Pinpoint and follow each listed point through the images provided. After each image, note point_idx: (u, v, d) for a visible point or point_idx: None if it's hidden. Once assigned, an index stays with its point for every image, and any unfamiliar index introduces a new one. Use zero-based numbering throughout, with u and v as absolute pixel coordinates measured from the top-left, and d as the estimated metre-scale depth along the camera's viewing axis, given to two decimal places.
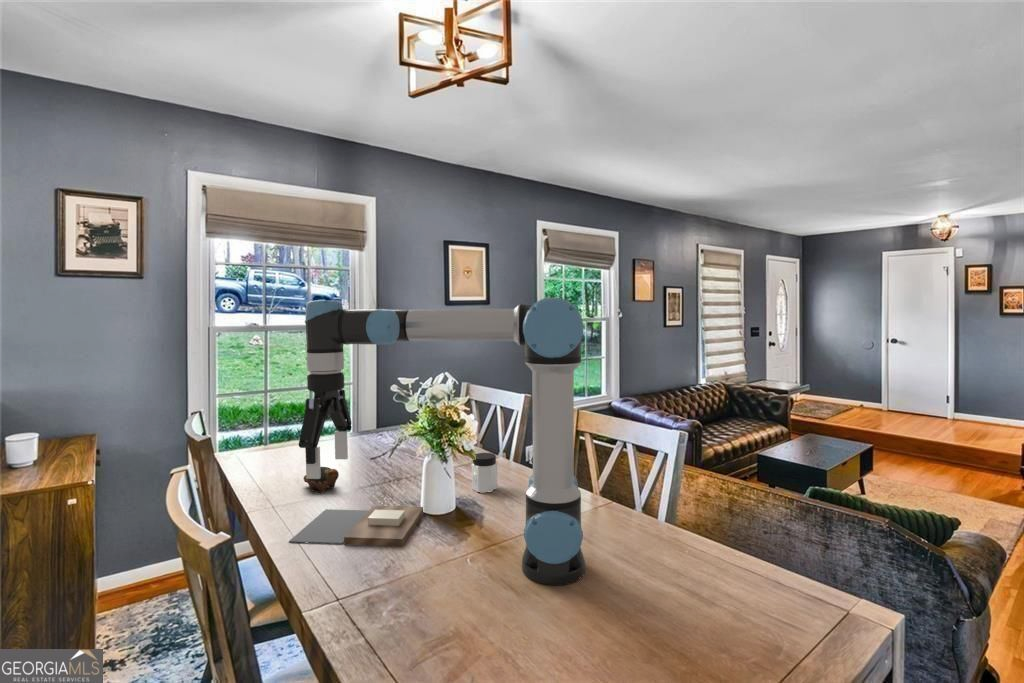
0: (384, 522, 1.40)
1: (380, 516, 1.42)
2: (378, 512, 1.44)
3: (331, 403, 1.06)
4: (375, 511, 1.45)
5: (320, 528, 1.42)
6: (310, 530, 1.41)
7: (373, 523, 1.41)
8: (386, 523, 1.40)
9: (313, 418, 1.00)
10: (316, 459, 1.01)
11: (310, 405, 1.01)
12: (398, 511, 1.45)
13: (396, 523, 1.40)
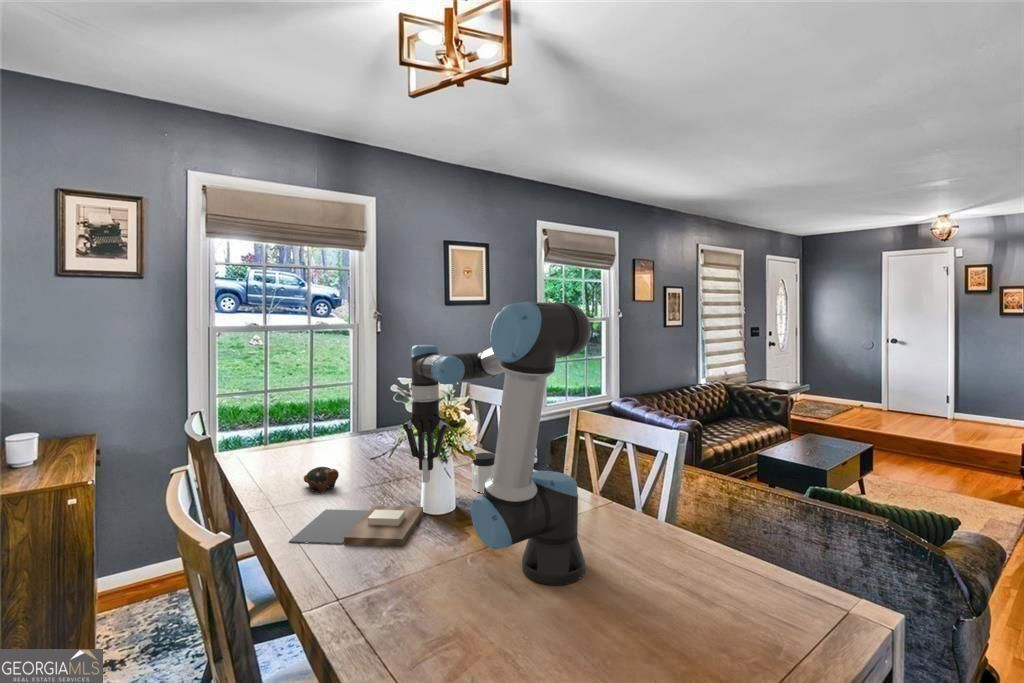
0: (384, 522, 1.40)
1: (380, 516, 1.42)
2: (378, 512, 1.44)
3: (418, 424, 1.39)
4: (375, 511, 1.45)
5: (320, 528, 1.42)
6: (310, 530, 1.41)
7: (373, 523, 1.41)
8: (386, 523, 1.40)
9: None
10: None
11: None
12: (398, 511, 1.45)
13: (396, 523, 1.40)
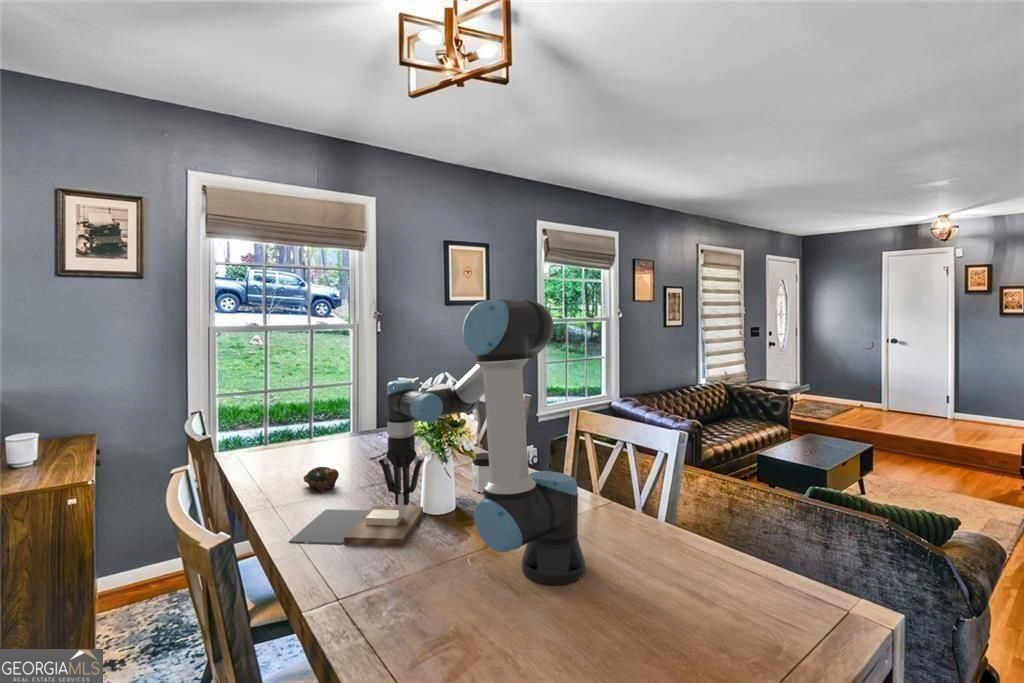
0: (382, 522, 1.40)
1: (378, 516, 1.42)
2: (376, 512, 1.45)
3: (394, 460, 1.40)
4: (374, 511, 1.45)
5: (320, 528, 1.42)
6: (310, 530, 1.41)
7: (371, 523, 1.41)
8: (384, 523, 1.40)
9: None
10: None
11: None
12: (396, 511, 1.45)
13: (394, 523, 1.40)
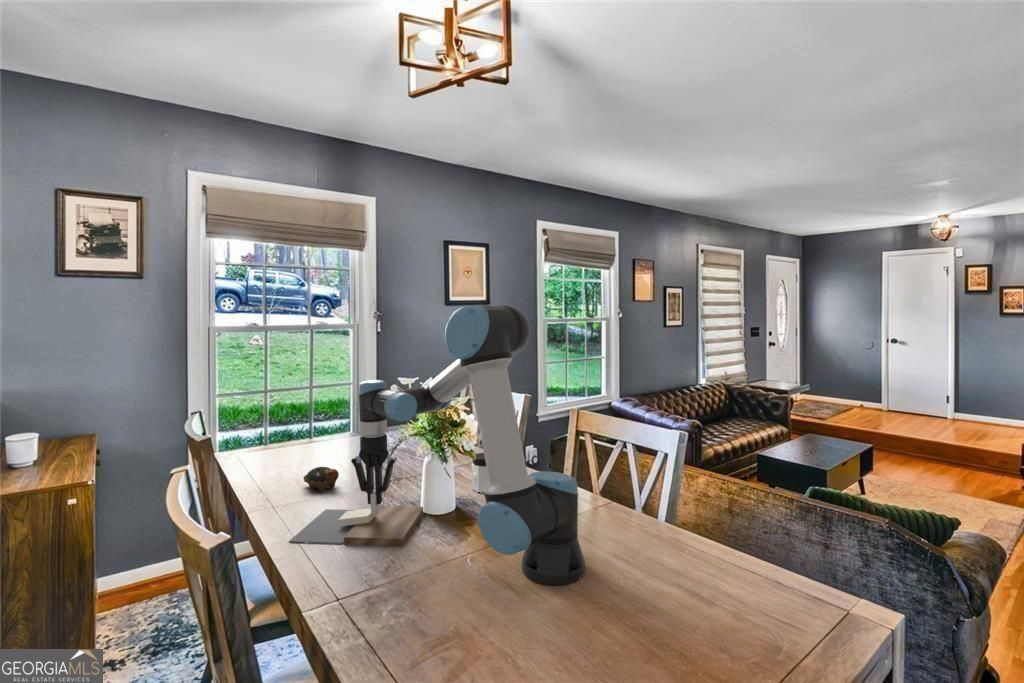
0: (354, 521, 1.41)
1: (350, 516, 1.43)
2: (349, 513, 1.45)
3: (366, 459, 1.41)
4: (346, 513, 1.46)
5: (320, 528, 1.42)
6: (310, 530, 1.41)
7: (344, 524, 1.41)
8: (357, 522, 1.41)
9: None
10: None
11: None
12: (369, 509, 1.46)
13: (366, 520, 1.41)
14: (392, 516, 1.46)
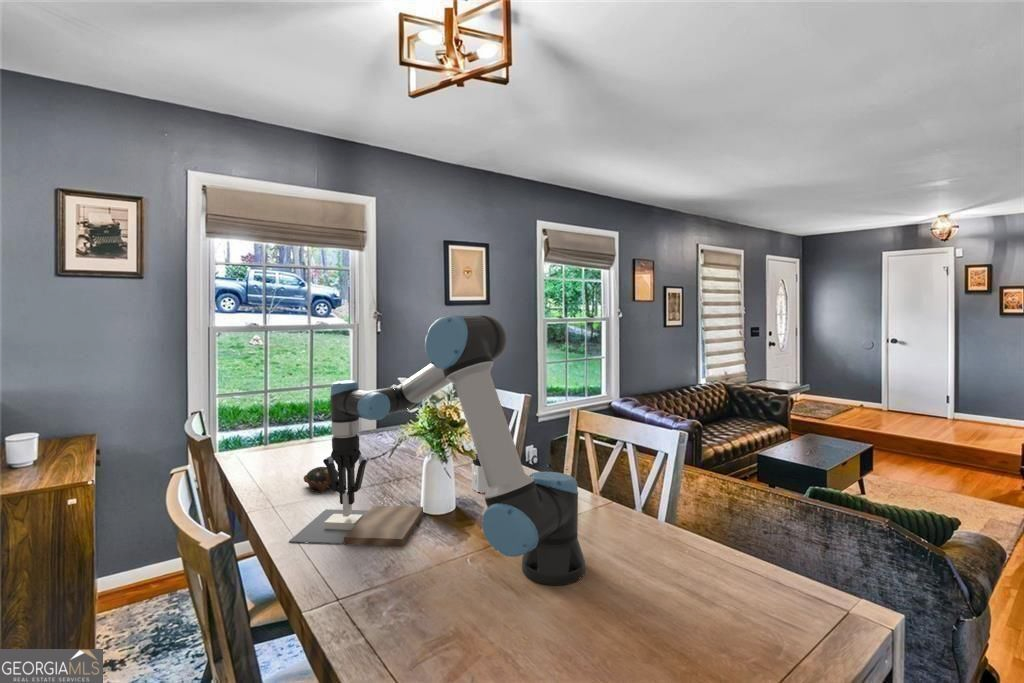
0: (340, 526, 1.41)
1: (336, 520, 1.43)
2: (336, 516, 1.46)
3: (338, 460, 1.42)
4: (333, 515, 1.46)
5: (320, 528, 1.42)
6: (310, 530, 1.41)
7: (329, 527, 1.42)
8: (342, 527, 1.41)
9: None
10: None
11: None
12: (356, 515, 1.46)
13: (352, 527, 1.41)
14: (392, 516, 1.46)
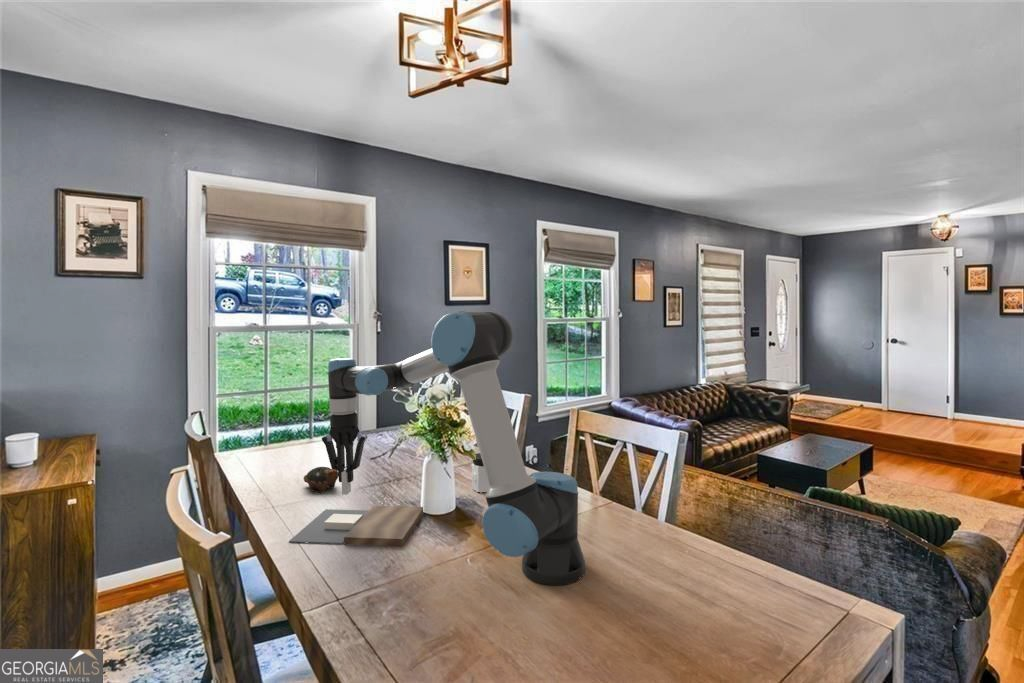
0: (340, 526, 1.41)
1: (336, 520, 1.43)
2: (336, 516, 1.46)
3: (336, 437, 1.41)
4: (333, 515, 1.46)
5: (320, 528, 1.42)
6: (310, 530, 1.41)
7: (329, 527, 1.42)
8: (342, 527, 1.41)
9: None
10: None
11: None
12: (356, 515, 1.46)
13: (352, 527, 1.41)
14: (392, 516, 1.46)
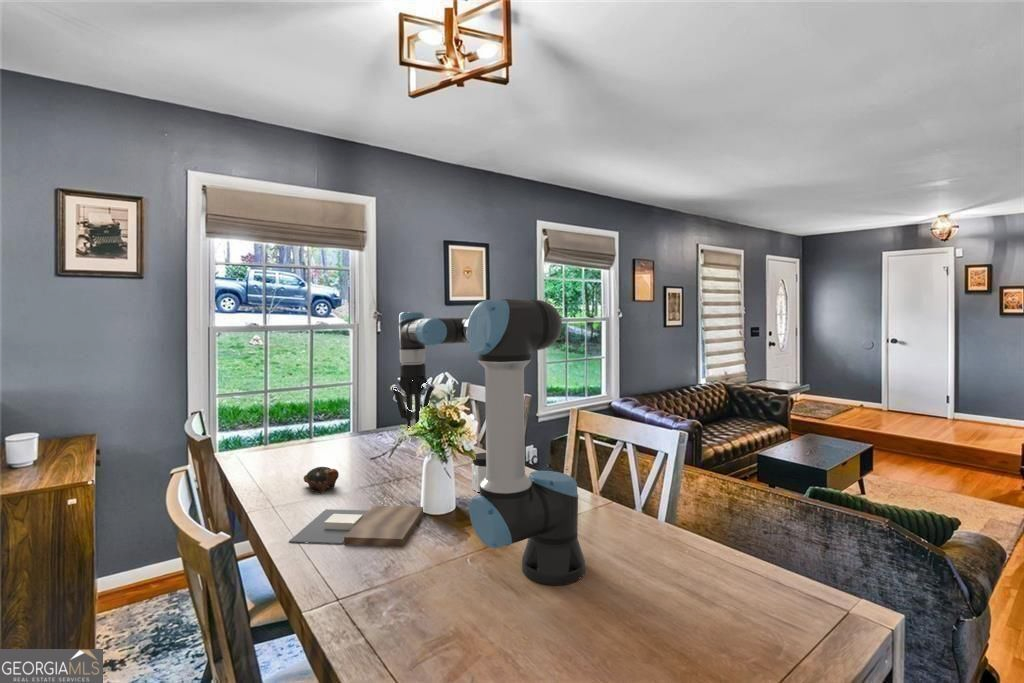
0: (340, 526, 1.41)
1: (336, 520, 1.43)
2: (336, 516, 1.46)
3: (406, 386, 1.48)
4: (333, 515, 1.46)
5: (320, 528, 1.42)
6: (310, 530, 1.41)
7: (329, 527, 1.42)
8: (342, 527, 1.41)
9: None
10: None
11: None
12: (356, 515, 1.46)
13: (352, 527, 1.41)
14: (392, 516, 1.46)
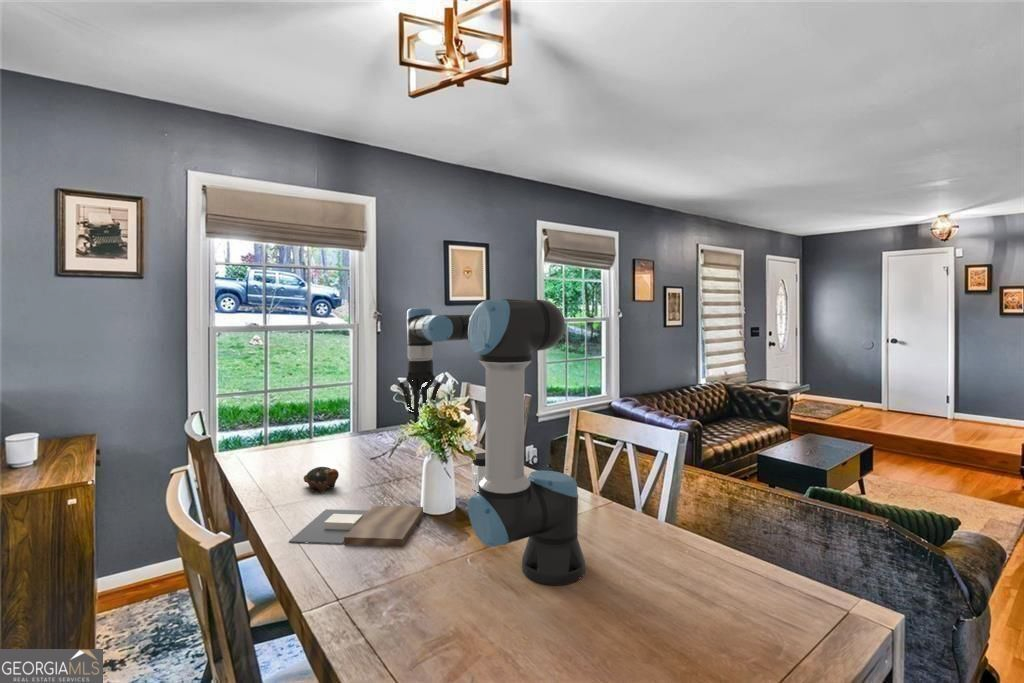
0: (340, 526, 1.41)
1: (336, 520, 1.43)
2: (336, 516, 1.46)
3: (414, 382, 1.49)
4: (333, 515, 1.46)
5: (320, 528, 1.42)
6: (310, 530, 1.41)
7: (329, 527, 1.42)
8: (342, 527, 1.41)
9: None
10: None
11: None
12: (356, 515, 1.46)
13: (352, 527, 1.41)
14: (392, 516, 1.46)
